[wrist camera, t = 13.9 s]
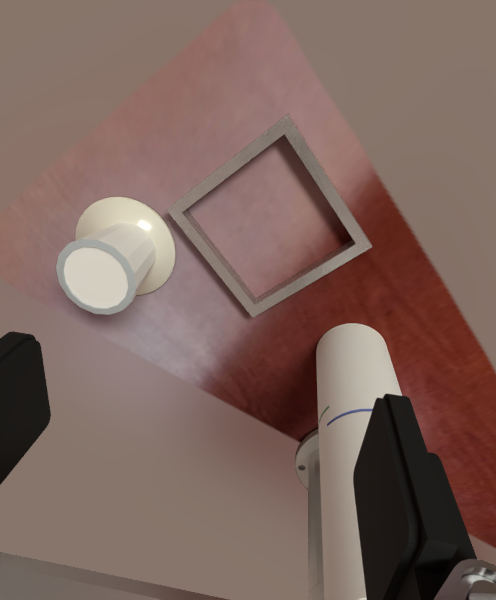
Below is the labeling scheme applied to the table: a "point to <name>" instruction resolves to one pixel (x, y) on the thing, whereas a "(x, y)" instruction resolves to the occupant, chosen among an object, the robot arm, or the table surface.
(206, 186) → the holder collar
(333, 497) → the cylindrical container
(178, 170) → the table surface
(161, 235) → the cream flat disc
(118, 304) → the white cup
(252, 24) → the table surface
